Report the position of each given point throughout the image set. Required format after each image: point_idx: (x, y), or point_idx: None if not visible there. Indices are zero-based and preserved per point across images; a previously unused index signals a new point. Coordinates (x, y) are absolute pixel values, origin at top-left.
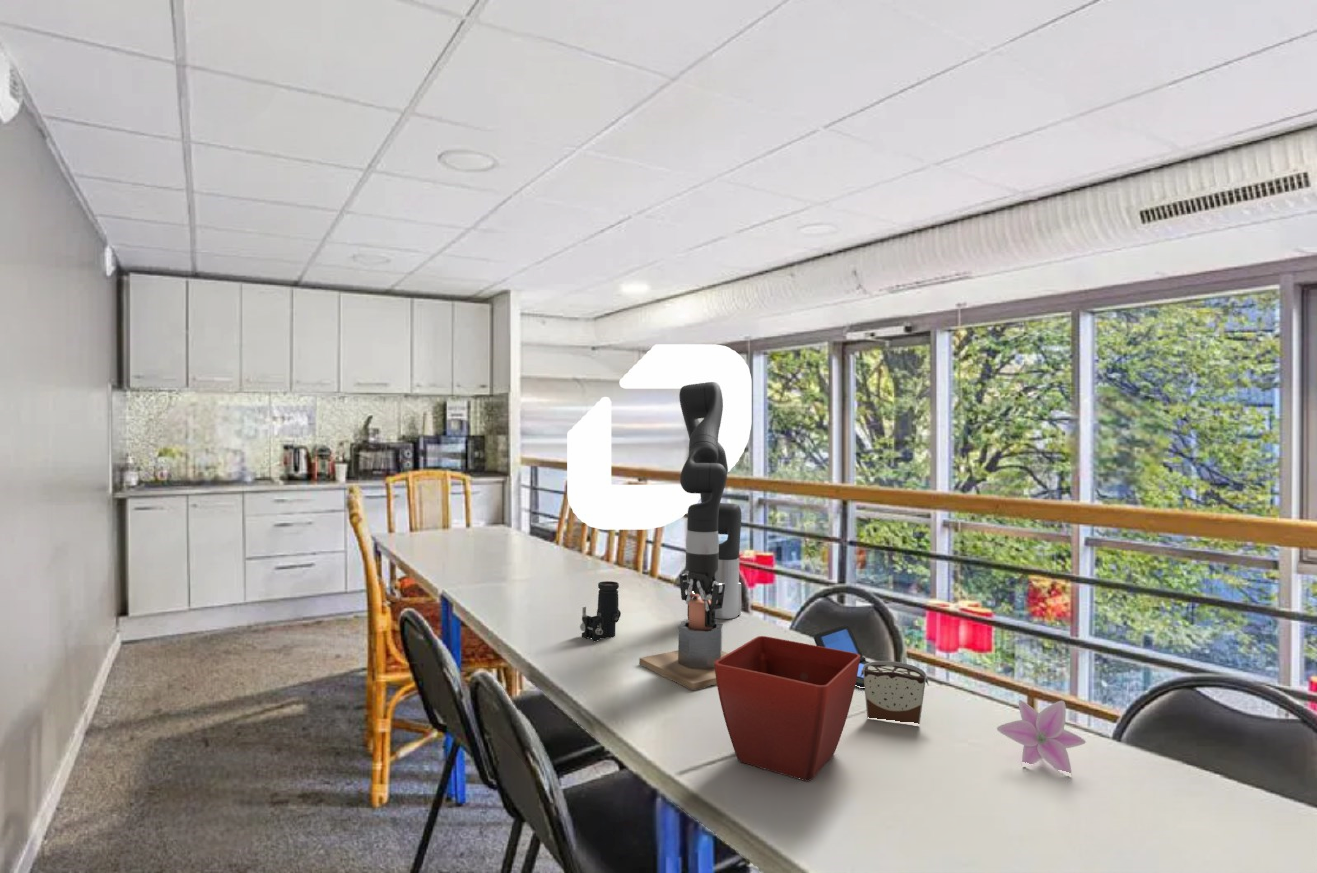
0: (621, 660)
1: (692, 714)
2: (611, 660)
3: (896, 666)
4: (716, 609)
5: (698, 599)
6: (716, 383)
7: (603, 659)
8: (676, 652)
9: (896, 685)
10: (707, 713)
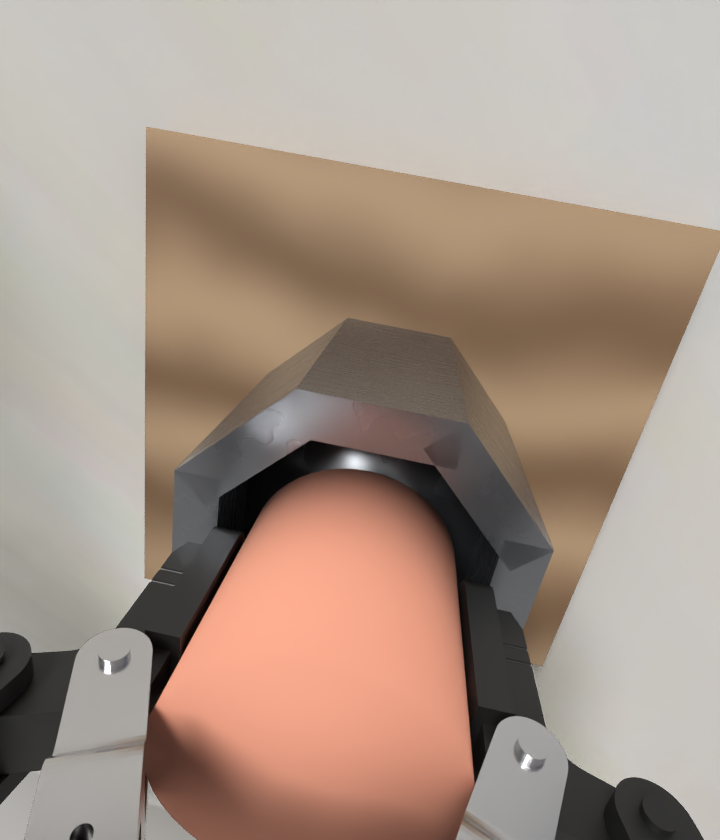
0: (73, 566)
1: (667, 781)
2: (54, 590)
3: None
4: (579, 770)
5: (184, 724)
6: None
7: (28, 600)
8: (172, 401)
9: None
10: (710, 754)
